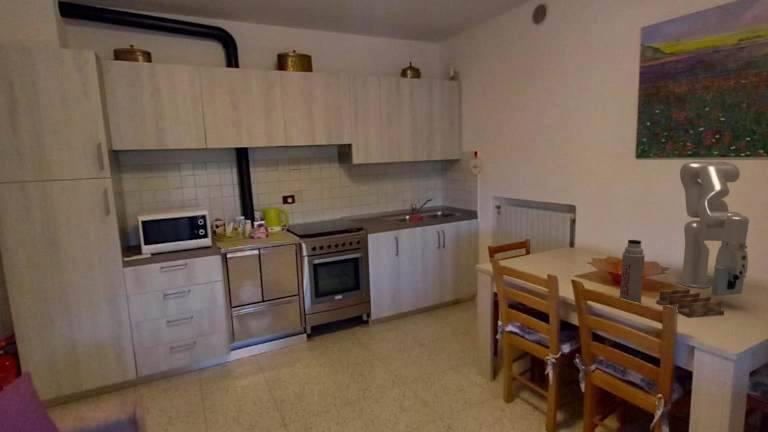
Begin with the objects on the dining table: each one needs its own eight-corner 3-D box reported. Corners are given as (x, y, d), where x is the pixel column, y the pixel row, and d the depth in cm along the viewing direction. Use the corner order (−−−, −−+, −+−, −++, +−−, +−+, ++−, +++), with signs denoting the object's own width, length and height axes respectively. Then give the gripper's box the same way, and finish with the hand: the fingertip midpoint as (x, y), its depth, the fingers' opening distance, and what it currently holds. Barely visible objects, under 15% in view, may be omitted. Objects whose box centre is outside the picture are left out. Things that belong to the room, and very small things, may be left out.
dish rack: (688, 300, 179) (689, 288, 178) (723, 314, 163) (725, 301, 162) (656, 303, 176) (657, 291, 175) (688, 317, 161) (690, 304, 160)
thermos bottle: (627, 307, 172) (632, 243, 168) (615, 300, 180) (619, 239, 176) (645, 306, 173) (650, 242, 169) (632, 299, 181) (636, 238, 177)
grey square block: (735, 291, 172) (739, 264, 170) (741, 293, 170) (745, 266, 168) (711, 294, 170) (714, 266, 168) (716, 296, 168) (720, 268, 166)
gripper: (761, 249, 159) (755, 294, 162) (722, 240, 175) (716, 280, 178) (745, 251, 158) (738, 296, 161) (706, 241, 173) (701, 282, 177)
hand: (727, 287), depth 170 cm, fingers closed on grey square block, 2 cm apart
